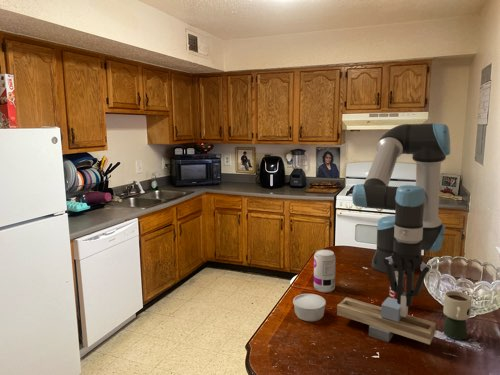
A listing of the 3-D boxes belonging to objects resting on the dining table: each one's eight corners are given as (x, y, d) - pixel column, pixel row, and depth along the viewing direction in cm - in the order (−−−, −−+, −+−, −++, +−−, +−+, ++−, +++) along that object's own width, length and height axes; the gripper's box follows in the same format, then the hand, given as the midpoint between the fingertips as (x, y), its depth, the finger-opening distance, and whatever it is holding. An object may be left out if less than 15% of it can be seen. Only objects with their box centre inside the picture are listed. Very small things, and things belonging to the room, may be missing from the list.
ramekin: (306, 303, 135) (306, 290, 134) (332, 314, 127) (332, 300, 126) (286, 315, 127) (286, 301, 126) (313, 327, 119) (313, 312, 118)
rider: (387, 314, 117) (388, 297, 116) (403, 319, 114) (404, 301, 113) (380, 322, 112) (381, 304, 111) (397, 328, 109) (398, 309, 108)
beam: (347, 312, 127) (347, 295, 126) (435, 340, 110) (436, 321, 109) (335, 324, 120) (336, 306, 119) (428, 356, 103) (429, 335, 102)
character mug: (470, 347, 106) (474, 306, 104) (443, 342, 109) (446, 302, 107) (465, 328, 116) (468, 289, 114) (440, 324, 119) (442, 286, 117)
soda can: (405, 309, 129) (407, 276, 127) (390, 307, 130) (391, 276, 128) (402, 301, 134) (404, 270, 132) (387, 300, 135) (389, 270, 133)
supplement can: (311, 291, 144) (312, 255, 141) (316, 282, 151) (316, 248, 149) (332, 294, 141) (333, 257, 138) (336, 285, 148) (337, 250, 146)
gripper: (380, 238, 107) (377, 313, 112) (429, 247, 99) (424, 327, 104) (389, 232, 113) (385, 303, 117) (435, 239, 105) (430, 315, 109)
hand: (403, 314), depth 110 cm, fingers closed
